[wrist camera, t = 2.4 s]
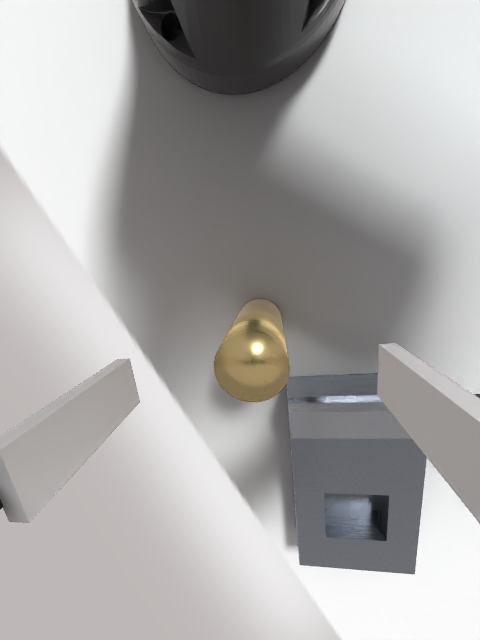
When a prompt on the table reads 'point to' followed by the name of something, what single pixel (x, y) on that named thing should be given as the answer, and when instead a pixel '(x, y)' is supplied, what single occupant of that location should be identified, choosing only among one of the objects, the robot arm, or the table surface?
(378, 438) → the jig
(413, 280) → the table surface
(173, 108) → the table surface
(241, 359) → the brass cylinder rod
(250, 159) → the table surface
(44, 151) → the table surface
